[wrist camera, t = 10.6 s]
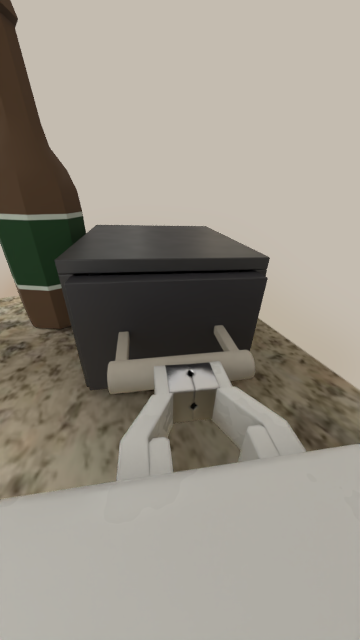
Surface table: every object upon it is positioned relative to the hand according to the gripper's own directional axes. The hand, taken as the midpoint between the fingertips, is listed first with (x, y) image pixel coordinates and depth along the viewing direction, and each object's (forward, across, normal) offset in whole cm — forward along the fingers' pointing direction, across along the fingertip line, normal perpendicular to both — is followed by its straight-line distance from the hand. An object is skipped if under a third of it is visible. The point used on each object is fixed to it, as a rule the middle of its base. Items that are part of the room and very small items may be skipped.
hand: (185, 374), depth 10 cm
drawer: (+9, 0, -5) cm, 10 cm away
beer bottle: (+18, -11, -6) cm, 22 cm away
